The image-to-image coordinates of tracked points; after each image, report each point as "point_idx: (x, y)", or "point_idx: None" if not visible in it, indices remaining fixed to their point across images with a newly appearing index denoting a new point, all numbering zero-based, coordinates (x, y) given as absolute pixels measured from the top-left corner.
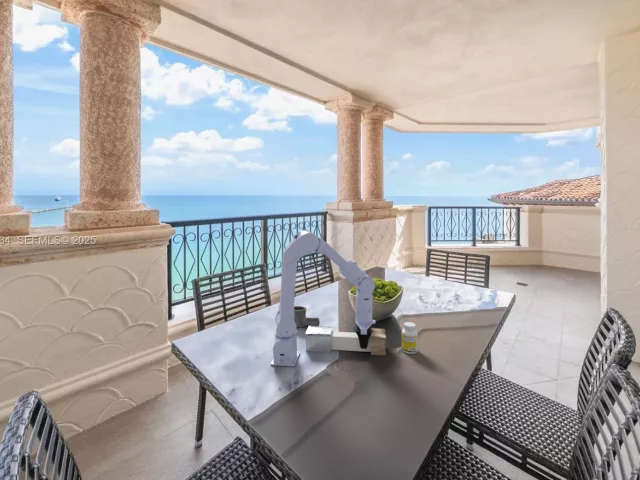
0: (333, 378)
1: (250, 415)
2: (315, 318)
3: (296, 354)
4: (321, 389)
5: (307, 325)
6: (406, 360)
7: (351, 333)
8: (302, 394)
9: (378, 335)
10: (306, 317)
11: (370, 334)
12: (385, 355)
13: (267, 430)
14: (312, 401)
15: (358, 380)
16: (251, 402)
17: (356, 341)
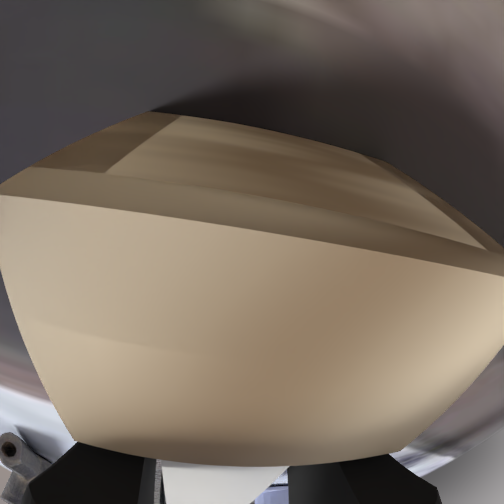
0: (444, 413)
1: (447, 461)
2: (14, 470)
3: (288, 498)
4: (464, 419)
5: (36, 458)
6: (479, 21)
7: (185, 488)
8: (453, 438)
9: (416, 398)
10: (21, 477)
11: (428, 486)
12: (385, 163)
13: (487, 436)
14: (483, 418)
15: (501, 351)
16: (420, 472)
17: None
